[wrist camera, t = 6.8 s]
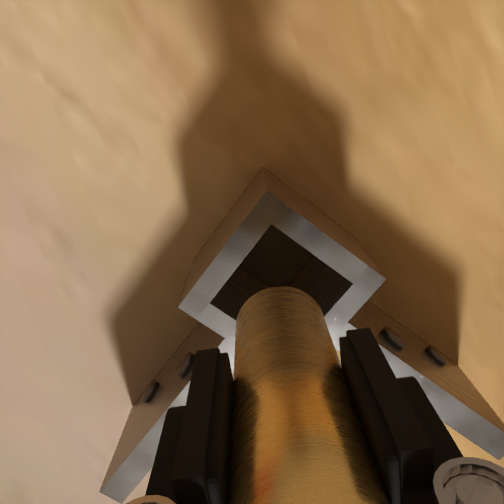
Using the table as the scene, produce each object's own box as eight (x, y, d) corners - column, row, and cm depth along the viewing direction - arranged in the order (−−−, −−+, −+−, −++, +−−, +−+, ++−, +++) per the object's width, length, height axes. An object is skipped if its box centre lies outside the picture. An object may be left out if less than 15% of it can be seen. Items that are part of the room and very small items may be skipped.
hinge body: (487, 337, 25) (559, 408, 19) (309, 510, 29) (324, 610, 23) (262, 167, 22) (266, 190, 16) (98, 387, 26) (55, 468, 20)
